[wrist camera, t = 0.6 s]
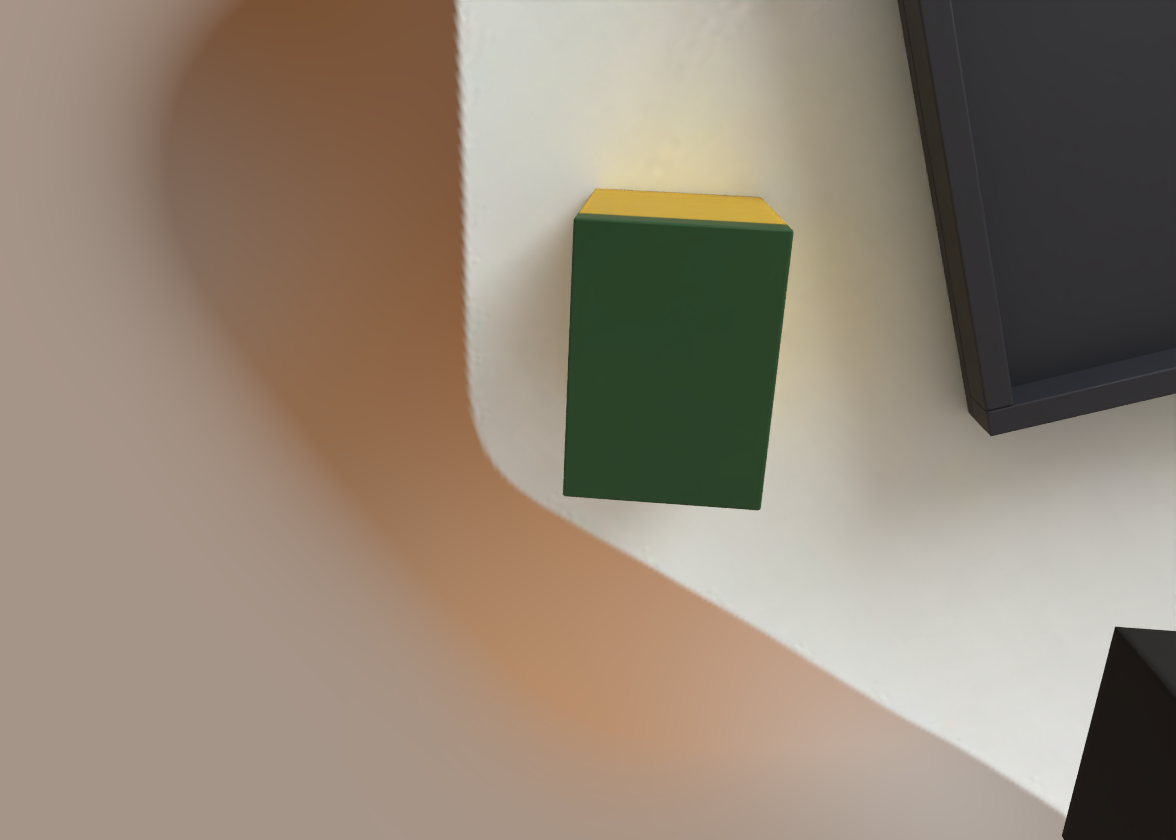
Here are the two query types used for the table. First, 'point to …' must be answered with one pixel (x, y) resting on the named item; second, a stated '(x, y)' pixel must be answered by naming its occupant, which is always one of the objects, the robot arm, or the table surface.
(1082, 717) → the table surface
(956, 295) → the tray
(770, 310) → the sponge
